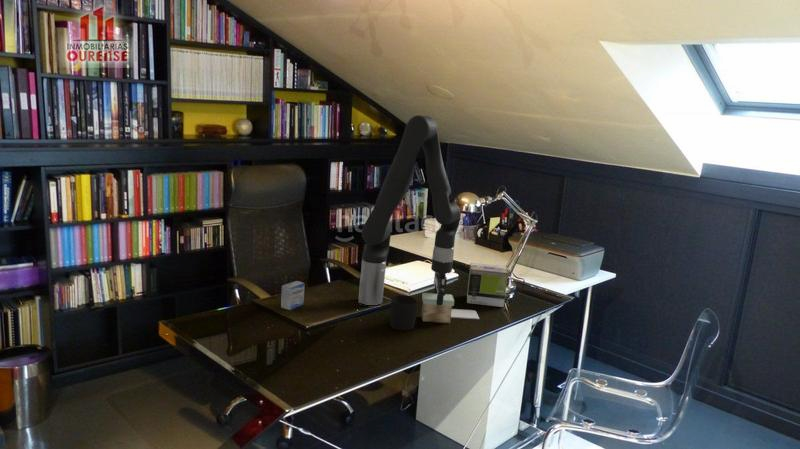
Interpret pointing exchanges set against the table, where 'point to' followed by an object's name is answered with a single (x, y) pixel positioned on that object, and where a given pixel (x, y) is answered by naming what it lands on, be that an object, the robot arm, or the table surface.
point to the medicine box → (292, 295)
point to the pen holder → (403, 312)
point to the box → (436, 313)
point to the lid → (432, 299)
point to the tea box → (487, 284)
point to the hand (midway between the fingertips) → (437, 300)
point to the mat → (464, 314)
